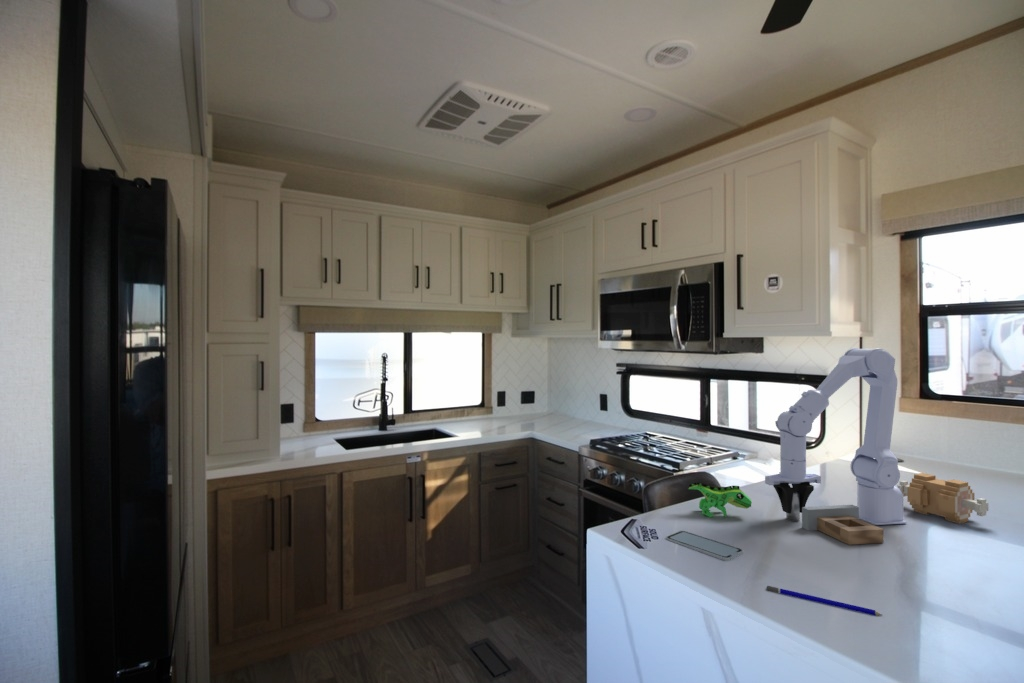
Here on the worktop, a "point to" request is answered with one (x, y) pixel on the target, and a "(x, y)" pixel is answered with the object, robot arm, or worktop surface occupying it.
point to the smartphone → (705, 545)
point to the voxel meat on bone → (942, 497)
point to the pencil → (823, 601)
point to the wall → (826, 514)
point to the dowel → (794, 508)
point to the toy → (720, 497)
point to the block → (850, 530)
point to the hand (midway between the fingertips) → (792, 511)
